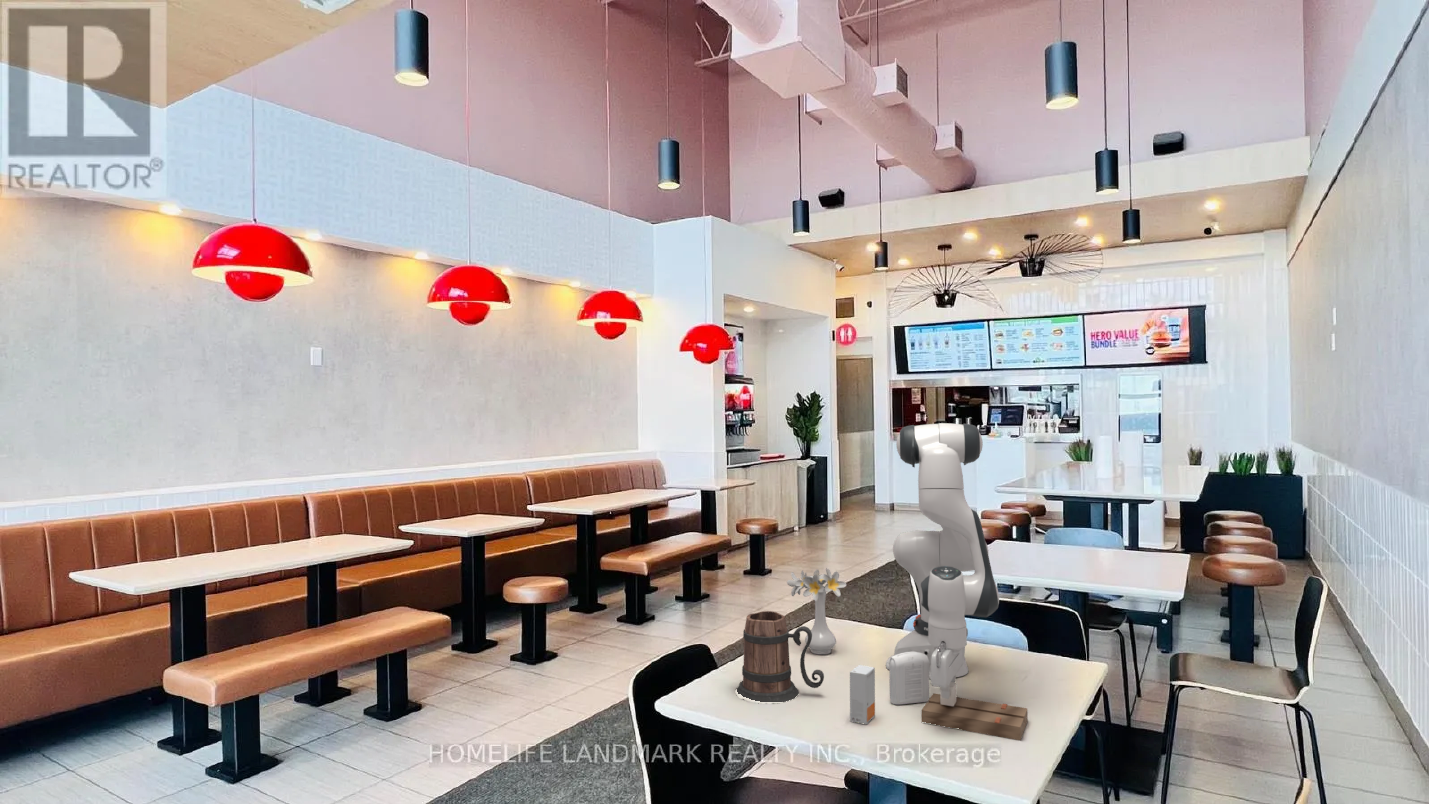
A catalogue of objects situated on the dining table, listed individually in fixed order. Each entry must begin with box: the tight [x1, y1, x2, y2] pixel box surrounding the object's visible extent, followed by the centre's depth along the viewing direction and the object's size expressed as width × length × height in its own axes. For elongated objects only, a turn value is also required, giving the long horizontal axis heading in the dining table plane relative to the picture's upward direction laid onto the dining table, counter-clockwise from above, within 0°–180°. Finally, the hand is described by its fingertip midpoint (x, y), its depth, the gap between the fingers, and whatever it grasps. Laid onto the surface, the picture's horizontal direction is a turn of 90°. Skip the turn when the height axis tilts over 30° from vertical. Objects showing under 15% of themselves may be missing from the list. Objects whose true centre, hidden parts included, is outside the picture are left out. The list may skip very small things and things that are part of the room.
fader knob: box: [939, 681, 957, 707], centre depth 190 cm, size 3×4×6 cm
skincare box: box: [849, 664, 876, 725], centre depth 190 cm, size 6×4×12 cm
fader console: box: [920, 693, 1029, 741], centre depth 188 cm, size 22×12×3 cm, turn 61°
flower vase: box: [786, 567, 847, 656], centre depth 241 cm, size 13×18×25 cm
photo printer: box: [888, 652, 930, 705], centre depth 201 cm, size 10×4×12 cm, turn 104°
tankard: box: [736, 610, 825, 703], centre depth 208 cm, size 24×17×20 cm
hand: (948, 694), depth 190 cm, fingers closed on fader knob, 3 cm apart
